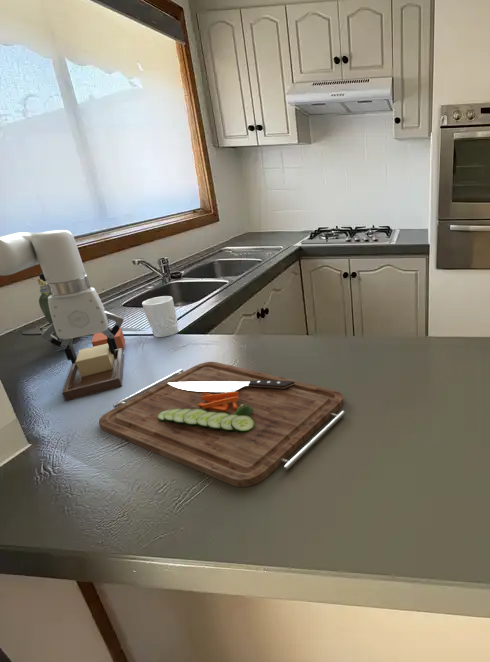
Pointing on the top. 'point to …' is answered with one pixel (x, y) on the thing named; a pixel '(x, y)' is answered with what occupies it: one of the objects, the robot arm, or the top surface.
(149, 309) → the white cup
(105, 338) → the terracotta pad
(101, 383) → the tray
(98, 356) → the beige pad
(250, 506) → the top surface
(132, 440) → the chopping board
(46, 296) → the vegetable
